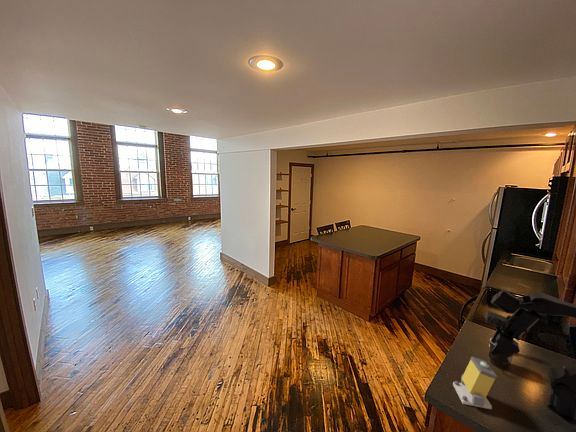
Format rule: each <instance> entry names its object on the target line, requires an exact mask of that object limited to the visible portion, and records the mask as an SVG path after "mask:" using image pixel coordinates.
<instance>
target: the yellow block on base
mask: <svg viewBox="0 0 576 432" xmlns="http://www.w3.org/2000/svg"><path fill="white" fill-rule="evenodd" d="M462 375H463V377H462V380H463V382H464V384H465V385H466V387H467V389H468V391H469V392H470V393H471V394H472V396H473V394H476V395H482V396H483V397H484V399H485V398H487V396H488V394H489V391H490V390H491V388H492V386H493V384H494V382H495V380H496V379H497V378H498V375H497V374H496V373H495V371H494V370H493V369H492V368H491V366H490V365H489V364H488V362H487V361H486V360H484V359H481V358H478V357H476V356H471V357H470V360H469V362H468V365H467V366H466V368H465V371H464V373H463V374H462Z"/></svg>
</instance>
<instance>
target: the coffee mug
mask: <svg viewBox="0 0 576 432" xmlns="http://www.w3.org/2000/svg"><path fill="white" fill-rule="evenodd" d="M492 338H493V337H491V338H489V344H490V347H489V352H488V357H489V359H490V360H489V361H490V364H491V365H493V366H494V367H495V368H497V369H500V370H503V371H504V370H505V371H507V370H509V369H510V367H511V364H512V361H513V359H514V358H513V357H514V355H515V354H512V353H506V354H499V355H492V354H491V351H492V350H493V348H494V347H495V345H496V344H497V342H496V343H492V342H491V340H492Z"/></svg>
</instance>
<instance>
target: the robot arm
mask: <svg viewBox="0 0 576 432" xmlns="http://www.w3.org/2000/svg"><path fill="white" fill-rule="evenodd" d="M490 303H491V304H492V305H494V306H496V307H497V308H499V309H500V310H502V311H504V312H505V313H506V314H508V315H507V316H503V315H502V314H499V313H496V312H493V311H490V310H488V311H487V314H486V316H485V323H487V324H488V325H492V326H494V327H495V328H496V330H495V332H494V334H493V336H492V337H491V338H492V340H491V342H492V343H496V342H497V344H496V345H495V347H494V348H493V350H492V351H491V354H492V355H499V354H506V353H512V354H514V355H517V354H519V352H521V350H520V346H519V341H520V340H521V336H522V335H524V333H525V334H528V333H529V329H530V328H532V326H534V325H535V324H536V323H537V322H538V321H540V322H542V323H544V324H546V325H547V324H548V320H547V315H548V316H553V317H555V316H558V317H559V316H561V317H562V316H565V317H570V318H574V319H576V303H571V302H567V301H566V300H565V301H564V300H562V299H560V298H557V297H555V296H552V295H550V294H546V293H543V292H540V291H536V292H535V291H534V292H533V293H531V294H530V295H529V294H528V295H522V296H521V295H520V296H518V297H517V296H514V295H513V294H512V293H510V292H508V291H507V290H506V289H502V290H500V291H499V292H498V293H495V294H494V295H493V297H492V298H491V301H490ZM511 314H512V315H511ZM514 339H515V340H514ZM547 377H548V382H549V385H550V388H551V390H552V392H551V393H550V398H549V401H548V402H549V404H547V405H546V407H547V408H548V409H550V410H551V411H553V412H554V413H555V414H557V415H558V417H561V419H563V420H564V421H566V422H567V423H569V424H570V423H574V422H575V423H576V366H575V367H573V368H569V367H565V366H564V365H563V364H562V363H561V364H559V365H556V367H549V371H548V372H547Z"/></svg>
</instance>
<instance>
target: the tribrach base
mask: <svg viewBox="0 0 576 432" xmlns="http://www.w3.org/2000/svg"><path fill="white" fill-rule="evenodd" d="M462 377H463V374H461V379H460V382H459V381H458V380H454V381H453V383H452V386H453V387H454V389H455V392H456V393H457V395H458V398H459V400H460V401H461V403H462V405H468V406H471V407H472V406H473V407H477V408H483V409H488V410H492V409H493V406H492V404H491V403H490V401H489V400H488V398H487V397H486V398H485V399H484V397H483V396H482V395H476V394H473V396H472V394H471V393H470V392H469V391H468V389H467V387H466V385H465V384H464V382H463V380H462Z"/></svg>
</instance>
